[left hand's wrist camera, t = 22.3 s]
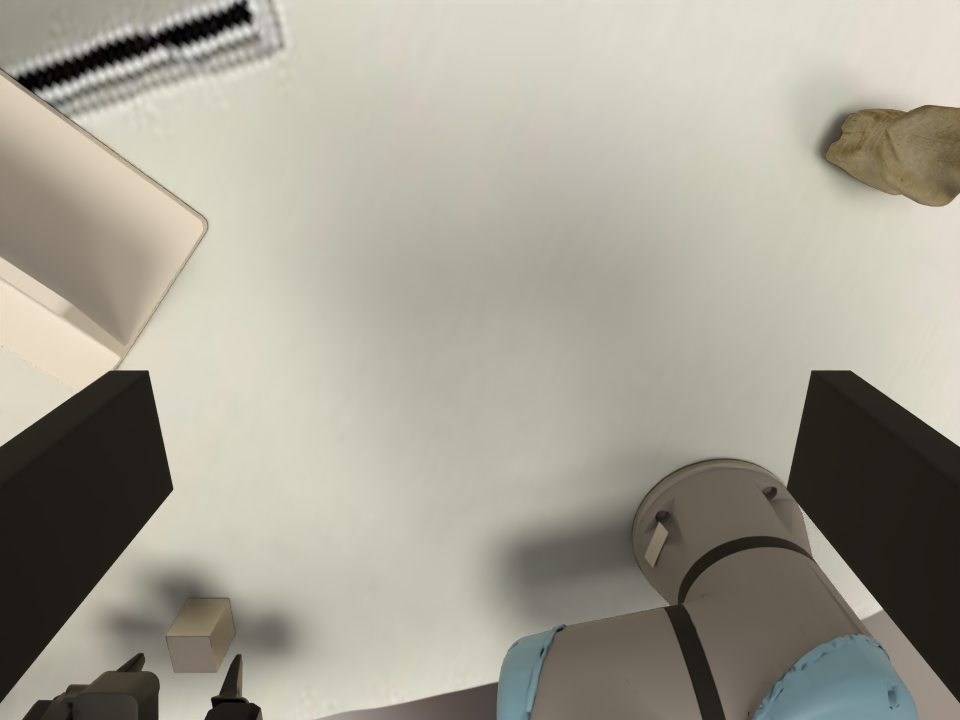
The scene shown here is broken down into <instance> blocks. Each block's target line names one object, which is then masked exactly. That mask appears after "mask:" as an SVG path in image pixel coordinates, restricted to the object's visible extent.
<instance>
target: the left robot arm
mask: <svg viewBox="0 0 960 720" xmlns="http://www.w3.org/2000/svg"><path fill="white" fill-rule="evenodd" d="M172 491H173V485H172V480H171V475H170V471H169V466H168V461H167V456H166V452H165V447H164V442H163V437H162V433H161V428H160V423H159V419H158V414H157V409H156V404H155V400H154V395H153V390H152V385H151V381H150V376H149V371H108V372H107V373H105V374H104V375H103V376H101V377H100V378H98V379H97V380H95V381H94V382H93V383H91V384H90V385H88V386H87V387H85V388H84V389H83V390H81V391H80V392H78V393H77V394H75V395H74V396H73V397H71V398H70V399H68V400H67V401H65V402H64V403H63V404H61V405H60V406H58V407H57V408H55V409H54V410H53V411H51V412H50V413H48V414H47V415H45V416H44V417H43V418H41V419H40V420H38V421H37V422H35V423H34V424H33V425H31V426H30V427H28V428H27V429H25V430H24V431H23V432H21V433H20V434H18V435H17V436H15V437H14V438H13V439H11V440H10V441H8V442H7V443H5V444H4V445H3V446H1V447H0V703H1V702H2V700H3V699H4V698H5V697H6V695H7V694H8V693H9V692H10V690H11V689H12V688H13V687H14V686H15V684H16V683H17V682H18V681H19V679H20V678H21V677H22V676H23V674H24V673H25V672H26V671H27V670H28V668H29V667H30V666H31V665H32V663H33V662H34V661H35V660H36V658H37V657H38V656H39V655H40V653H41V652H42V651H43V650H44V649H45V647H46V646H47V645H48V644H49V642H50V641H51V640H52V639H53V637H54V636H55V635H56V634H57V632H58V631H59V630H60V629H61V628H62V626H63V625H64V624H65V623H66V621H67V620H68V619H69V618H70V616H71V615H72V614H73V613H74V612H75V610H76V609H77V608H78V607H79V605H80V604H81V603H82V602H83V600H84V599H85V598H86V597H87V595H88V594H89V593H90V592H91V591H92V589H93V588H94V587H95V586H96V584H97V583H98V582H99V581H100V579H101V578H102V577H103V576H104V575H105V573H106V572H107V571H108V570H109V568H110V567H111V566H112V565H113V563H114V562H115V561H116V560H117V558H118V557H119V556H120V555H121V554H122V552H123V551H124V550H125V549H126V547H127V546H128V545H129V544H130V542H131V541H132V540H133V539H134V537H135V536H136V535H137V534H138V533H139V531H140V530H141V529H142V528H143V526H144V525H145V524H146V523H147V521H148V520H149V519H150V518H151V517H152V515H153V514H154V513H155V512H156V510H157V509H158V508H159V507H160V505H161V504H162V503H163V502H164V500H165V499H166V498H167V497H168V496H169V494H170V493H171V492H172ZM797 503H798V504H799V505H800V507H801V508H802V509H803V510H804V512H805V513H806V514H807V515H808V517H809V518H810V519H811V520H812V521H813V523H814V524H815V525H816V526H817V528H818V529H819V530H820V531H821V533H822V534H823V535H824V536H825V537H826V539H827V540H828V541H829V542H830V544H831V545H832V546H833V547H834V549H835V550H836V551H837V552H838V554H839V555H840V556H841V557H842V558H843V560H844V561H845V562H846V563H847V565H848V566H849V567H850V568H851V570H852V571H853V572H854V573H855V575H856V576H857V577H858V578H859V579H860V581H861V582H862V583H863V584H864V586H865V587H866V588H867V589H868V591H869V592H870V593H871V594H872V595H873V597H874V598H875V599H876V600H877V602H878V603H879V604H880V605H881V607H882V608H883V609H884V610H885V612H886V613H887V614H888V615H889V616H890V618H891V619H892V620H893V621H894V623H895V624H896V625H897V626H898V628H899V629H900V630H901V631H902V632H903V634H904V635H905V636H906V637H907V639H908V640H909V641H910V642H911V643H912V645H913V646H914V647H915V648H916V650H917V651H918V652H919V653H920V655H921V656H922V657H923V658H924V660H925V661H926V662H927V663H928V665H929V666H930V667H931V668H932V670H933V671H934V672H935V673H936V674H937V676H938V677H939V678H940V679H941V681H942V682H943V683H944V684H945V686H946V687H947V688H948V689H949V690H950V692H951V693H952V694H953V695H954V697H955V698H956V699H957V700H958V702H959V703H960V447H959V446H957V445H956V444H955V443H953V442H952V441H950V440H949V439H947V438H946V437H945V436H943V435H942V434H940V433H939V432H937V431H936V430H935V429H933V428H932V427H930V426H929V425H927V424H926V423H925V422H923V421H922V420H920V419H919V418H917V417H916V416H915V415H913V414H912V413H910V412H909V411H907V410H906V409H905V408H903V407H902V406H900V405H899V404H897V403H896V402H895V401H893V400H892V399H890V398H889V397H887V396H886V395H885V394H883V393H882V392H880V391H879V390H877V389H876V388H875V387H873V386H872V385H870V384H869V383H867V382H866V381H865V380H863V379H862V378H860V377H859V376H857V375H856V374H855V373H853V372H852V371H811V376H810V381H809V385H808V390H807V395H806V400H805V404H804V409H803V414H802V419H801V423H800V428H799V433H798V437H797V442H796V447H795V452H794V456H793V461H792V466H791V471H790V475H789V480H788V485H787V488H786V487H785V486H784V484H783V483H782V482H781V481H780V480H779V479H778V478H777V477H776V476H774V475H773V474H772V473H770V472H769V471H767V470H765V469H763V468H761V467H759V466H757V465H754V464H751V463H747V462H743V461H737V460H713V461H706V462H701V463H698V464H694V465H691V466H688V467H686V468H684V469H681V470H679V471H677V472H675V473H674V474H672V475H670V476H669V477H667V478H666V479H664V480H663V481H662V482H660V483H659V484H658V485H657V486H656V487H655V488H654V489H653V490H652V491H651V492H650V493H649V494H648V495H647V497H646V498H645V499H644V501H643V502H642V504H641V506H640V507H639V509H638V512H637V514H636V516H635V520H634V523H633V528H632V543H633V549H634V552H635V555H636V558H637V561H638V564H639V566H640V568H641V570H642V572H643V574H644V575H645V577H646V578H647V580H648V581H649V583H650V584H651V585H652V586H653V588H654V589H655V590H656V591H657V592H658V593H659V594H660V595H661V596H662V597H663V598H664V599H665V600H666V601H667V602H668V603H669V604H670V605H671V606H668V607H661V608H656V609H651V610H646V611H641V612H636V613H631V614H626V615H621V616H616V617H611V618H606V619H601V620H596V621H591V622H586V623H581V624H576V625H571V626H566V625H565V624H564V625H558V626H556V627H555V628H553V629H552V630H550V631H547V632H543V633H539V634H535V635H531V636H527V637H523V638H521V639H519V640H517V641H516V642H515V643H514V644H513V645H512V646H511V647H510V649H509V650H508V652H507V654H506V656H505V658H504V660H503V663H502V667H501V672H500V677H499V685H498V697H497V720H919V717H918V712H917V708H916V705H915V702H914V699H913V697H912V695H911V693H910V691H909V690H908V688H907V687H906V685H905V684H904V682H903V681H902V679H901V678H900V676H899V675H898V673H897V672H896V670H895V669H894V667H893V666H892V663H891V661H890V659H889V656H888V654H887V652H886V650H885V649H884V648H883V646H882V645H881V644H880V643H879V642H878V641H877V640H875V639H874V638H873V636H872V635H871V634H870V633H869V631H868V630H867V629H866V627H865V626H864V625H863V623H862V622H861V621H860V619H859V618H858V617H857V615H856V614H855V613H854V612H853V610H852V609H851V608H850V606H849V605H848V604H847V602H846V601H845V600H844V598H843V597H842V596H841V595H840V593H839V592H838V591H837V589H836V588H835V587H834V585H833V584H832V583H831V581H830V580H829V579H828V578H827V576H826V575H825V574H824V572H823V571H822V570H821V568H820V567H819V566H818V564H817V563H816V562H815V560H814V559H813V557H812V553H811V549H810V544H809V540H808V536H807V531H806V527H805V523H804V519H803V516H802V513H801V510H800V508H799V506H798V504H797Z"/></svg>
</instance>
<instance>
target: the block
mask: <svg viewBox="0 0 960 720" xmlns="http://www.w3.org/2000/svg"><path fill="white" fill-rule="evenodd" d="M234 635H235V629H234V623H233V618H232V613H231V608H230V602H229V599H228V598H191V599H187V601H186V603H185V604H184V606H183V608H182V609H181V611H180V613H179V614H178V616H177V618H176V619H175V621H174V623H173V624H172V626H171V628H170V629H169V631H168V633H167V634H166V640H167V645H168V649H169V653H170V657H171V661H172V665H173V669H174V672H175V673H216V672H217V671H218V669H219V667H220V665H221V663H222V661H223V659H224V657H225V654H226V652H227V650H228V648H229V646H230V644H231V642H232V640H233V637H234Z"/></svg>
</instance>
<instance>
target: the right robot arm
mask: <svg viewBox="0 0 960 720" xmlns="http://www.w3.org/2000/svg"><path fill="white" fill-rule="evenodd" d="M144 663H145V657H144V654H143V653H138V654H137V655H136V656H134V657H133V658H132V659H131V660H129V661H128V662H127V663H125V664H124V665H123V666H122V667H120V668H119V669H118V670H116V671H107V672H104V673H103V674H102V675H100V676H99V677H98V678H97V679H96V680H95V681H93V682H92V683H91V684H90V685H75V684H71V685H69V686H68V688H67V690H66V692H64V693H62V694H61V695H58V696H56V697H55V698H54V699H53V700H38V701H37V702H36V703H35V704H34V705H33V706H32V708H31V709H30V710H29V711H28V713H27V714H26V715H25V717H24V718H23V719H22V720H158V693H159V689H160V683H159V679H158V677H157V676H156V675H155V674H154V673H152V672H148V671H141V670H142V668H143V665H144ZM211 702H212V707H213V708H212V709H211V710H209V711H208V713H207V715H206V717H205V720H263V718H262V712H261V708H260V707H258V706H257V705H255V704H254V703H249V701H248V700H247V699H246V698H244V697H242V656H241V654H237V655H236V657H235V658H234V660H233V662H232V663H231V665H230V668H229V670H228V673H227V676H226V678H225V681H224V683H223V686H222V688H221V691H220V693H219V695H217V696H214V697H212V698H211Z"/></svg>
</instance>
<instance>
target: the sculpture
mask: <svg viewBox="0 0 960 720" xmlns="http://www.w3.org/2000/svg"><path fill="white" fill-rule="evenodd" d="M841 130H842V131H843V133H842V136H841V138H840V139H839V140H838V141H836V142H834V143H832V144H831V145H830V147H829V149H828V151H827V154H826V157H825V158H826V159H827V160H828V161H830V162H831V163H833V164H836V165H838V166H839V167H841V168H842V169H844V170H845V171H846V172H848V173H849V174H850V175H851V176H853V177H855V178H856V179H858V180H860V181H862V182H864V183H866V184H868V185H869V186H872V187H874V188H876V189H878V190H881V191H883V192H886V193H888V194H891V195H901V194H902V195H904V196H906V197H908V198H910V199H911V200H913V201H915V202H917V203H919V204H922V205H927V206H934V207H940V206H945V205H947V204H949V203H950V202H951V201H952V200H953V199H954V198H955V197H956V196H957V195H958V194H959V193H960V108H954V107H943V106H934V105H924V106H921V107H919V108H916V109H913V110H911V111H909V112H903V111H899V110H892V109H868V110H861V111H859V112H857V113H853V114H850V115H849V116H848V117H847V119H846V120H845V122H844V123H843V125H842V127H841Z"/></svg>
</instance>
